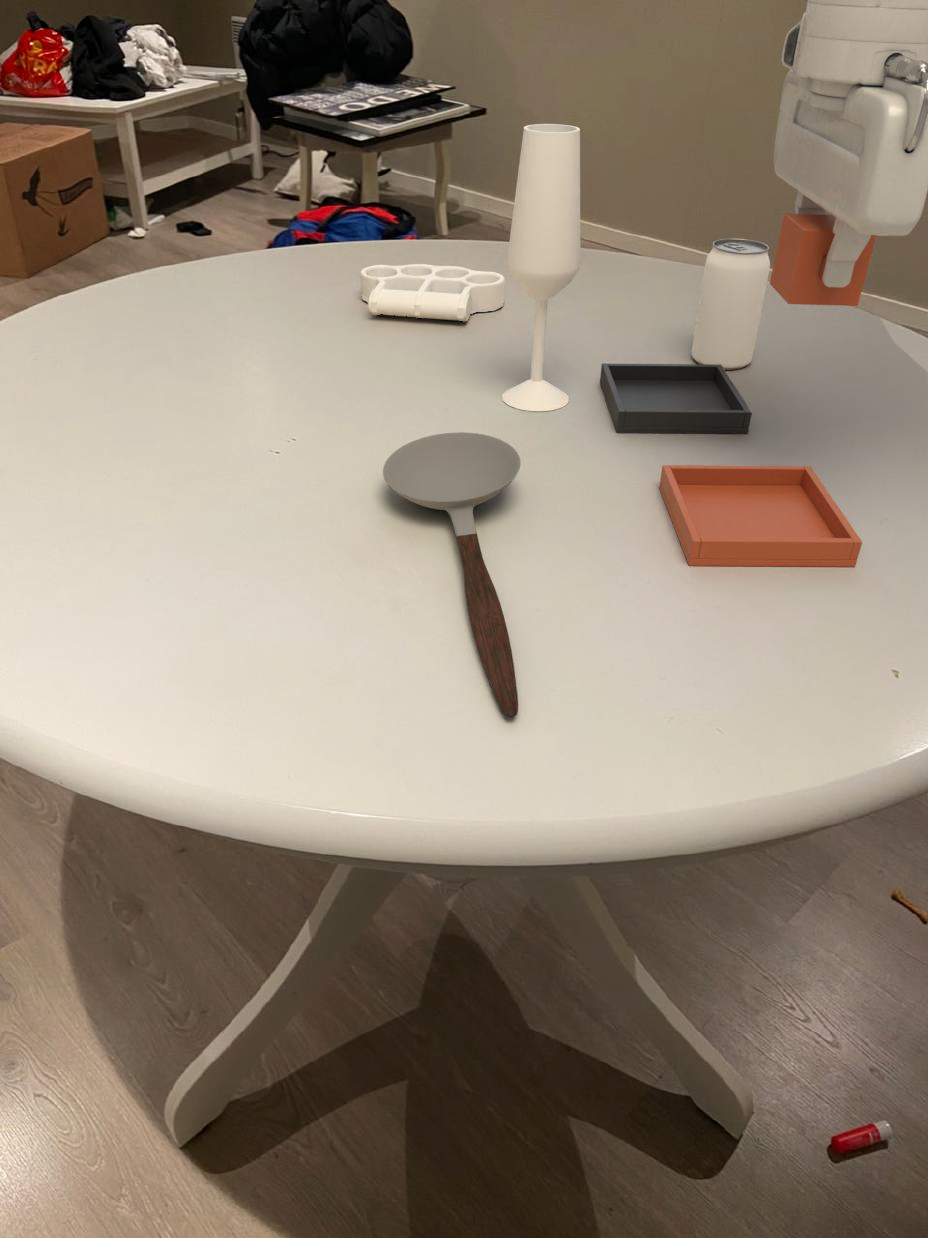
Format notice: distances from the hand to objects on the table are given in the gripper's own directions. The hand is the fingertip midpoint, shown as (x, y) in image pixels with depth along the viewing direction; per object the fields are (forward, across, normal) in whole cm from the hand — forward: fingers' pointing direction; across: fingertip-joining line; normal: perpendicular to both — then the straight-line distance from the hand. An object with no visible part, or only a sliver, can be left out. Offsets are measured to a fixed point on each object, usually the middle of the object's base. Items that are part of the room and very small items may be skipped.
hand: (818, 271), depth 69 cm
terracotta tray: (+18, -5, +3) cm, 19 cm away
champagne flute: (+18, +20, +18) cm, 32 cm away
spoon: (+18, -12, +25) cm, 33 cm away
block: (+2, 0, 0) cm, 2 cm away
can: (+18, +31, -3) cm, 36 cm away
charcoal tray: (+18, +18, +5) cm, 25 cm away
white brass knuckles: (+18, +48, +29) cm, 59 cm away
